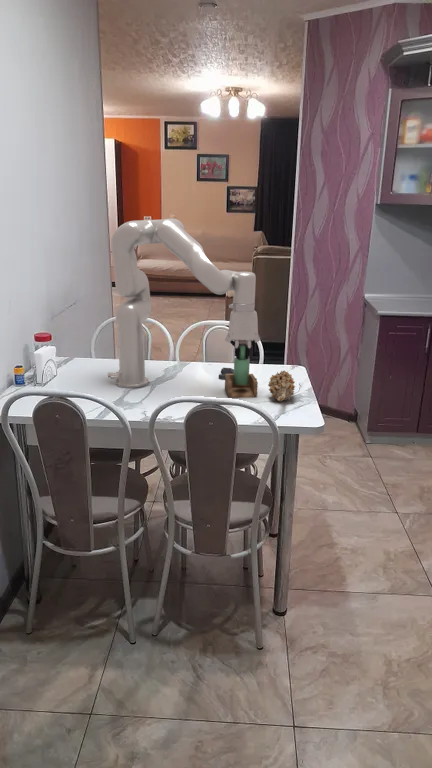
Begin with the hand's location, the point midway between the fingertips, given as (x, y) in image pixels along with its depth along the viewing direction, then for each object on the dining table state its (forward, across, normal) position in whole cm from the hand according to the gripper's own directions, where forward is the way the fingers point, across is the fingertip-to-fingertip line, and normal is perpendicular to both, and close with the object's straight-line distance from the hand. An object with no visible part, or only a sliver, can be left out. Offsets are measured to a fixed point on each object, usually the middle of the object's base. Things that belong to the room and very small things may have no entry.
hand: (242, 357), depth 199 cm
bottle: (+9, 0, 0) cm, 9 cm away
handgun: (+14, +2, +20) cm, 25 cm away
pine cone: (+14, +13, -11) cm, 22 cm away
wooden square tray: (+13, 0, 0) cm, 13 cm away
